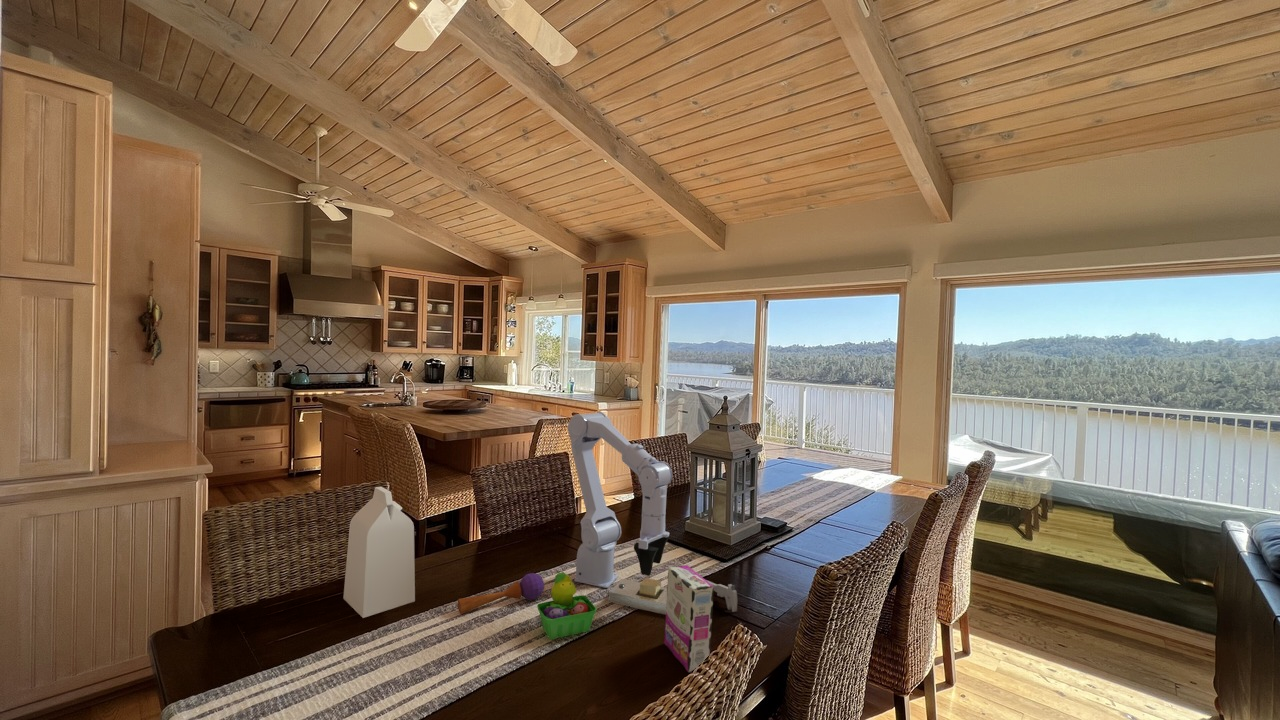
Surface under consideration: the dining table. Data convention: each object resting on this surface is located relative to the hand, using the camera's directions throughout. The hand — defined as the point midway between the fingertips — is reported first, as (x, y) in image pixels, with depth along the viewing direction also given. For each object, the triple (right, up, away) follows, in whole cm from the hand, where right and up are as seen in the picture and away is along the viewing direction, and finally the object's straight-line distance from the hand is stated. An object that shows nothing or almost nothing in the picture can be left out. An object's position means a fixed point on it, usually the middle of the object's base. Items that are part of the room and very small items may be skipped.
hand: (650, 568), depth 130 cm
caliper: (+15, -9, +6) cm, 19 cm away
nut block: (0, -9, 0) cm, 9 cm away
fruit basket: (-19, -8, -13) cm, 25 cm away
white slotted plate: (0, -8, 0) cm, 8 cm away
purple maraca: (-35, -7, -4) cm, 36 cm away
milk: (-64, -6, -5) cm, 64 cm away
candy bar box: (+7, -10, -21) cm, 24 cm away
